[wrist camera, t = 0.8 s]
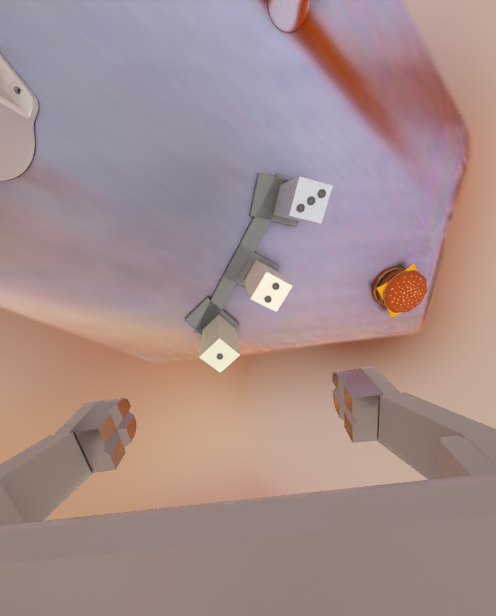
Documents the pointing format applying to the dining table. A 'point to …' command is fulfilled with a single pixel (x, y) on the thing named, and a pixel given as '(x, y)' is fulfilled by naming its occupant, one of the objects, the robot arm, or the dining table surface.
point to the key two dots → (266, 286)
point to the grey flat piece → (243, 253)
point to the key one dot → (219, 344)
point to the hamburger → (399, 289)
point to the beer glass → (288, 13)
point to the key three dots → (302, 200)
